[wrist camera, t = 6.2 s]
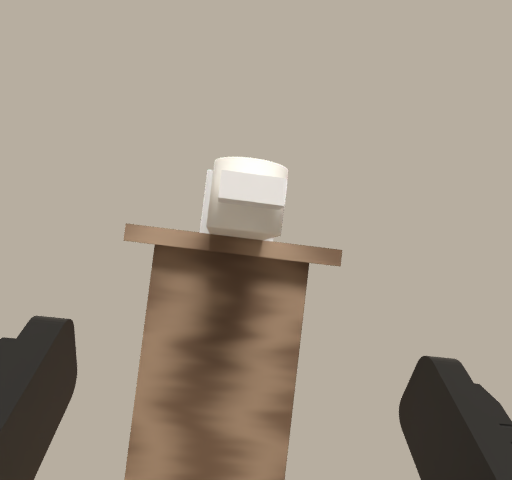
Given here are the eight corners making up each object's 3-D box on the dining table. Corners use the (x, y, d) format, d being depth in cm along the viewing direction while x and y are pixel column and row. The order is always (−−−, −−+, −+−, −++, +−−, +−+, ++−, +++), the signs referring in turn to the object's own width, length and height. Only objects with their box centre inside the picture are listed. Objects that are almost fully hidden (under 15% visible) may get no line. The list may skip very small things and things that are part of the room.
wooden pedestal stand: (261, 625, 37) (304, 251, 39) (285, 835, 24) (350, 250, 25) (103, 619, 36) (153, 233, 38) (35, 836, 23) (117, 222, 24)
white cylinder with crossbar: (309, 234, 15) (320, 130, 15) (186, 218, 15) (200, 113, 15) (256, 244, 36) (261, 201, 36) (205, 238, 35) (210, 194, 36)
